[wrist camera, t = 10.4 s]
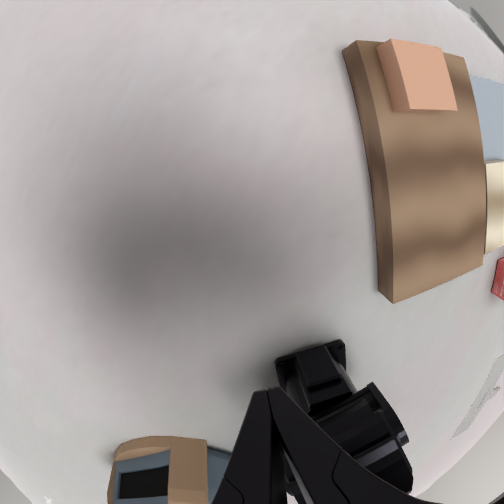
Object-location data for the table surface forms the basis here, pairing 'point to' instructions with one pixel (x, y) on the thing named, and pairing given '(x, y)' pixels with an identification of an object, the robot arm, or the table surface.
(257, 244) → the table surface
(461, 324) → the table surface
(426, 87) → the terracotta tile
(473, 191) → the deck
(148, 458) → the alarm clock
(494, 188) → the birch tile
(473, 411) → the grey flat piece
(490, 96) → the mat
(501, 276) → the ink cartridge box
